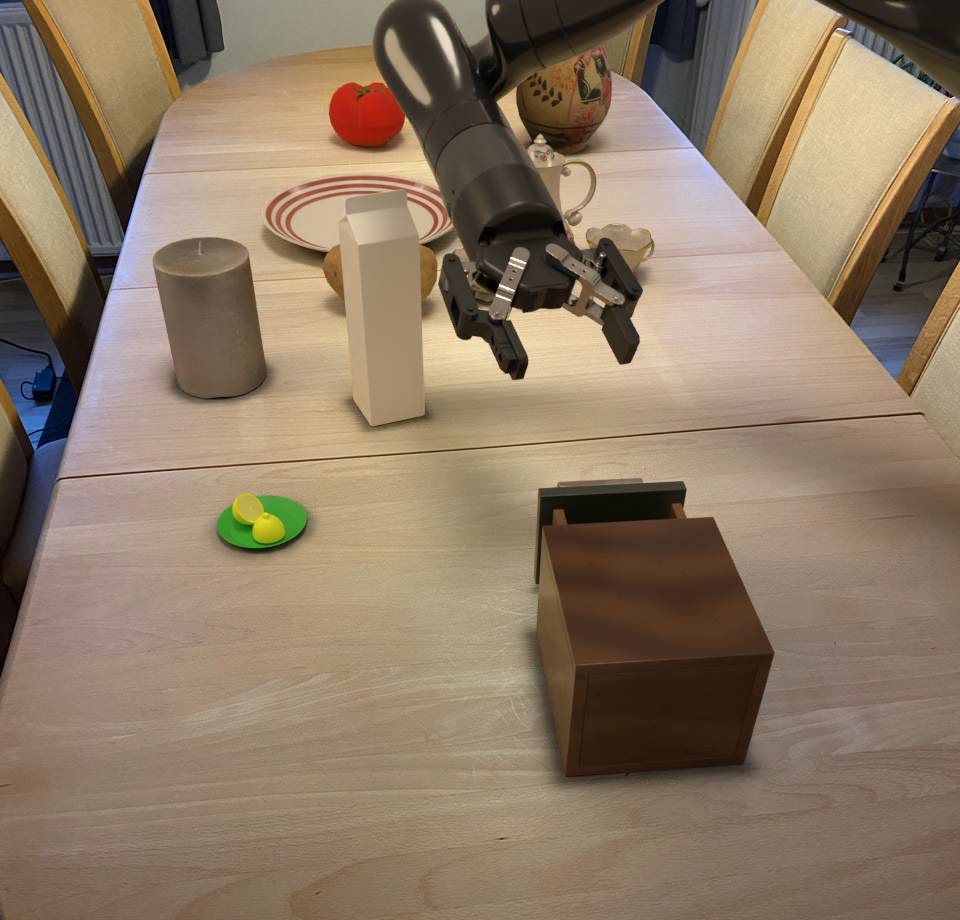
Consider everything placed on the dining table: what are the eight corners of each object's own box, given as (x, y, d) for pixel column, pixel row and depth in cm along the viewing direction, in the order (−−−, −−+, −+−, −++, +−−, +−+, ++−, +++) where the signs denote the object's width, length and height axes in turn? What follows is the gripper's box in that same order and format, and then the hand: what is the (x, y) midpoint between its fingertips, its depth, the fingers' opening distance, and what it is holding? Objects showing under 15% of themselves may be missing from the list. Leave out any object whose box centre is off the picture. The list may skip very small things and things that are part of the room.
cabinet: (535, 634, 82) (542, 525, 75) (692, 624, 83) (713, 516, 76) (565, 777, 71) (576, 665, 64) (744, 763, 72) (775, 652, 65)
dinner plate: (499, 241, 141) (499, 217, 139) (322, 288, 130) (319, 262, 128) (396, 183, 158) (395, 160, 156) (231, 220, 147) (228, 196, 144)
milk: (425, 416, 107) (419, 200, 92) (370, 428, 105) (355, 209, 90) (404, 389, 111) (396, 178, 96) (351, 399, 109) (334, 186, 94)
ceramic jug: (579, 167, 164) (594, -57, 144) (497, 150, 170) (501, -68, 150) (627, 139, 174) (648, -73, 154) (549, 123, 180) (559, -83, 160)
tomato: (427, 142, 173) (425, 85, 167) (371, 160, 166) (367, 101, 160) (372, 124, 180) (368, 68, 174) (316, 140, 173) (310, 83, 167)
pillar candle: (223, 349, 118) (200, 216, 108) (285, 373, 114) (267, 238, 103) (158, 382, 112) (127, 246, 102) (221, 410, 108) (195, 270, 98)
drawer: (526, 545, 89) (530, 458, 83) (657, 538, 90) (670, 451, 84) (558, 691, 76) (565, 600, 70) (710, 681, 77) (731, 590, 71)
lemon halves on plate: (200, 541, 91) (194, 515, 89) (247, 493, 97) (243, 468, 95) (279, 562, 89) (275, 536, 87) (323, 512, 94) (320, 486, 92)
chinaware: (468, 331, 125) (474, 195, 112) (417, 265, 135) (418, 135, 122) (665, 292, 133) (691, 162, 121) (604, 233, 143) (622, 108, 131)
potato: (339, 286, 130) (334, 223, 125) (447, 297, 128) (446, 233, 123) (314, 319, 123) (307, 254, 118) (428, 331, 121) (426, 265, 116)
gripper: (416, 167, 73) (495, 338, 67) (594, 154, 77) (683, 313, 71) (403, 251, 79) (473, 414, 73) (567, 234, 84) (647, 386, 78)
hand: (577, 364), depth 72 cm, fingers open, 8 cm apart
